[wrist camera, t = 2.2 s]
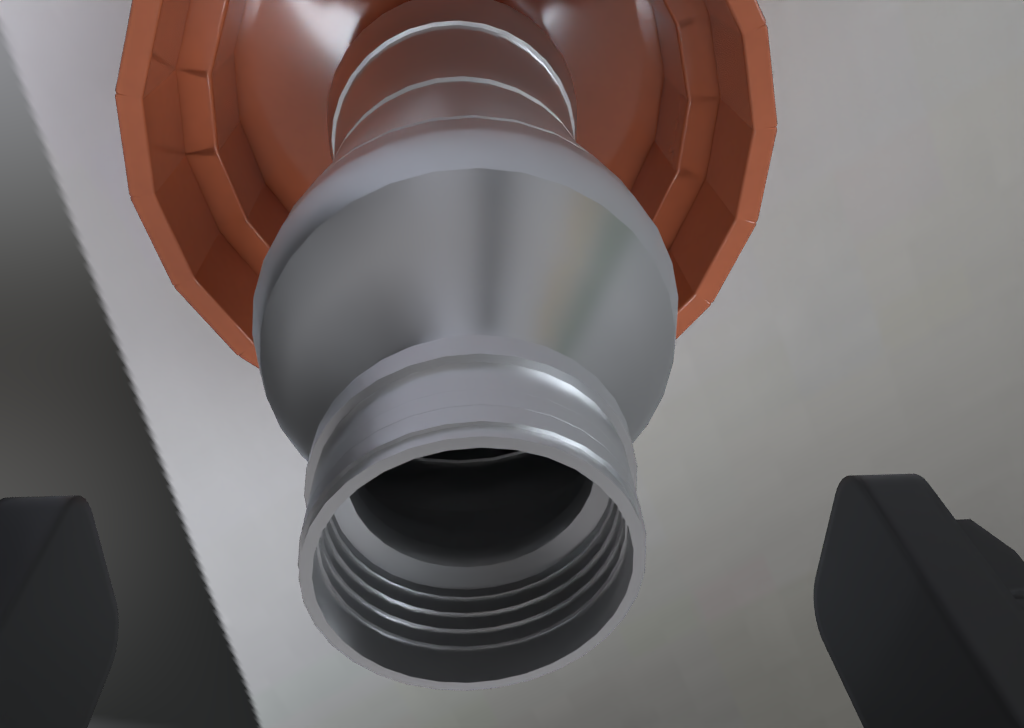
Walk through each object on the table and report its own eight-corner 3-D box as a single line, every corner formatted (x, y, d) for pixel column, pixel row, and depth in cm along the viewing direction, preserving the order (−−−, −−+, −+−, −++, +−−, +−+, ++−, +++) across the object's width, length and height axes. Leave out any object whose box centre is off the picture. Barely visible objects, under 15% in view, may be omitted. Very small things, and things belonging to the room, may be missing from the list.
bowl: (91, -115, 24) (-16, -98, 18) (661, -284, 23) (733, -321, 17) (300, 368, 32) (269, 484, 26) (735, 257, 31) (801, 353, 25)
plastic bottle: (297, 31, 26) (1, 443, 8) (525, -60, 25) (713, 188, 8) (389, 232, 29) (312, 831, 12) (594, 157, 28) (838, 679, 11)
